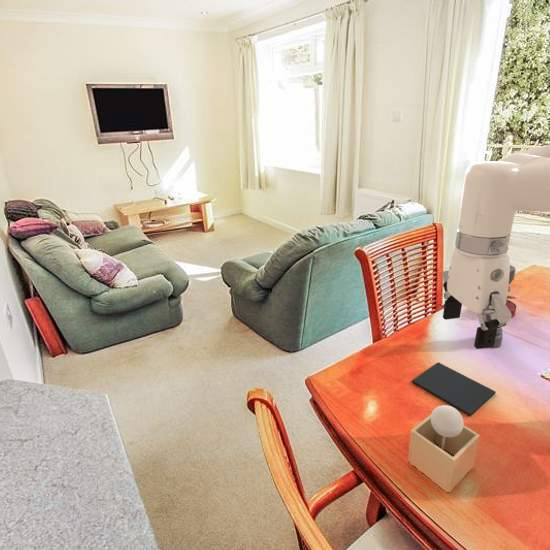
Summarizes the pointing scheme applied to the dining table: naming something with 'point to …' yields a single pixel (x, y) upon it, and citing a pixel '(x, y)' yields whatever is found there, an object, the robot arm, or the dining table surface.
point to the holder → (442, 453)
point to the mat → (454, 388)
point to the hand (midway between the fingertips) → (466, 331)
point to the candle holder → (499, 331)
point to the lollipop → (446, 422)
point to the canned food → (510, 306)
